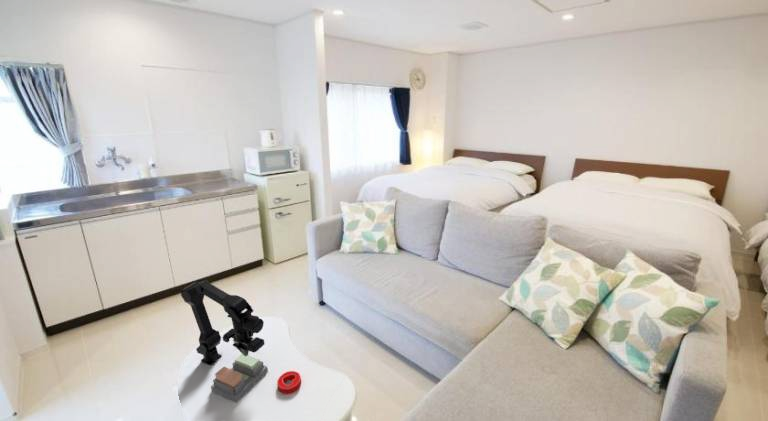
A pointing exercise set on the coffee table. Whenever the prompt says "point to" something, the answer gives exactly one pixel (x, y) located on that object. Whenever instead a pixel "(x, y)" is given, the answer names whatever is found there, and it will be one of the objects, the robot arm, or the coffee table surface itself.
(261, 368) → the button panel
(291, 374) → the decorative ornament
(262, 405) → the coffee table surface
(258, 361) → the sage button
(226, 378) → the orange brown block
